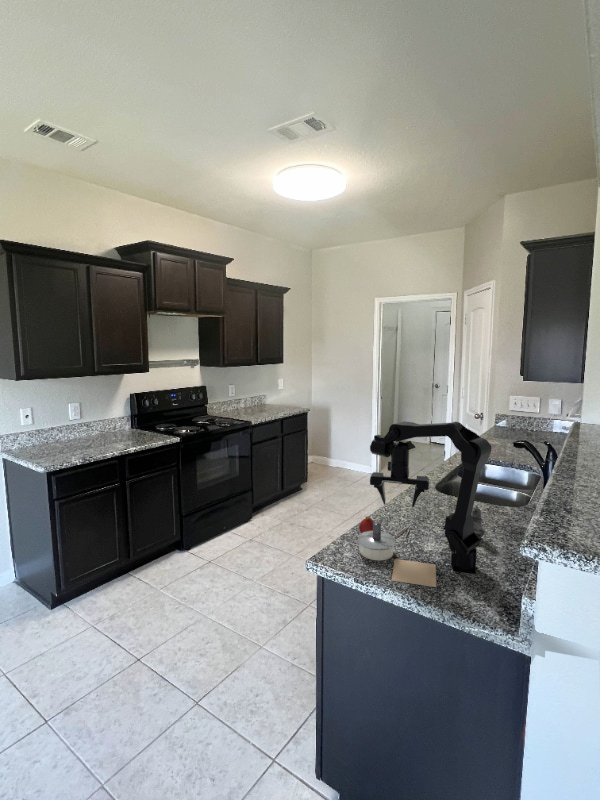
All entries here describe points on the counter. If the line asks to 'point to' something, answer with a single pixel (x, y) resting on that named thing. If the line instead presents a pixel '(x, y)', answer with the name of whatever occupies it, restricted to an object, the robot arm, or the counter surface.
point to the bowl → (376, 553)
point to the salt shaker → (477, 522)
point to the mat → (414, 572)
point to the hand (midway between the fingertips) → (398, 505)
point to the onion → (366, 525)
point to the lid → (376, 538)
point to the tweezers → (402, 532)
